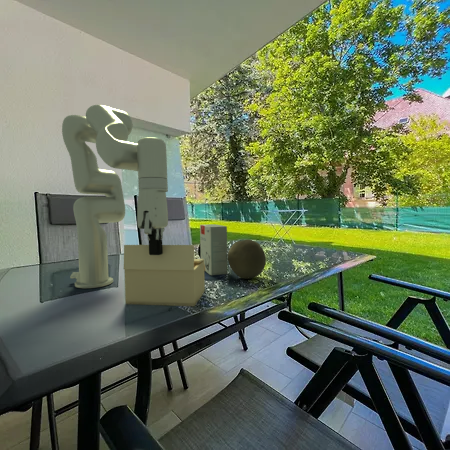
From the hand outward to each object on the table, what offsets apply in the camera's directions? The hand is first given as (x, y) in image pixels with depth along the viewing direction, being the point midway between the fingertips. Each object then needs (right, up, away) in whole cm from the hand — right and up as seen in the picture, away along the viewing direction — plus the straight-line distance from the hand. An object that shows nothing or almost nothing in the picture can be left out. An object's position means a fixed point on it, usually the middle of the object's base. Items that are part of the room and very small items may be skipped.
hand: (156, 254), depth 73 cm
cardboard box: (+1, -14, +9) cm, 17 cm away
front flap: (0, -1, +2) cm, 2 cm away
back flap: (+1, -3, +12) cm, 13 cm away
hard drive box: (+14, -12, +45) cm, 48 cm away
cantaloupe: (+27, -13, +30) cm, 42 cm away
